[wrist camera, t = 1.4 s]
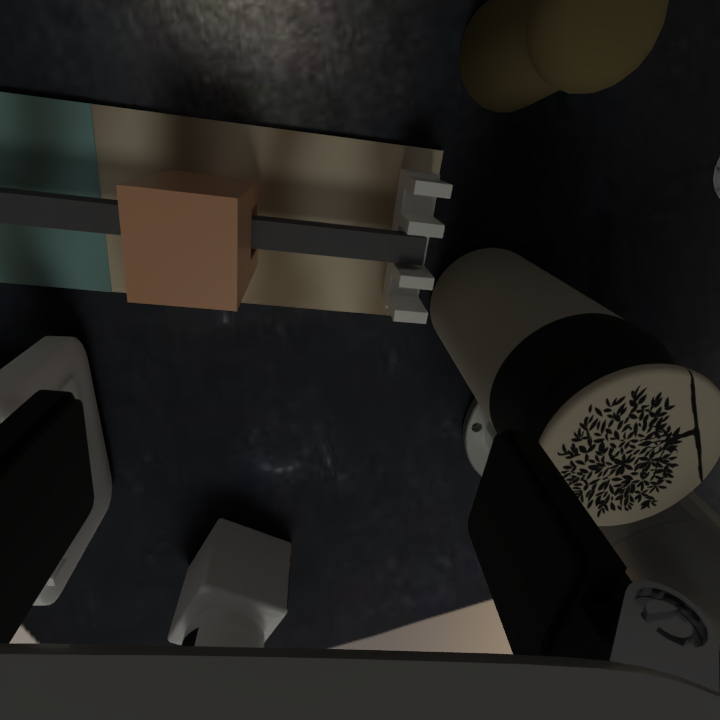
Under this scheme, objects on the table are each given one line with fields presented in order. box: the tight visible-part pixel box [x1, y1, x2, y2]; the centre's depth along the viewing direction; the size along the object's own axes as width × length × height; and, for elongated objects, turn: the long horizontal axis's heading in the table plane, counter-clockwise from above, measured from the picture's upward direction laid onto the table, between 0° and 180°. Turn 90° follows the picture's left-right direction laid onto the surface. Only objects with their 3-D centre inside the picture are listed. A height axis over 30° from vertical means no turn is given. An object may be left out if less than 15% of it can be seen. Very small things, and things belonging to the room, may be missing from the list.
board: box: [0, 92, 443, 315], centre depth 29 cm, size 33×11×1 cm, turn 83°
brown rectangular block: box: [116, 170, 260, 311], centre depth 25 cm, size 5×5×9 cm
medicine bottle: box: [168, 518, 291, 648], centre depth 37 cm, size 7×7×12 cm
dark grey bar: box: [0, 187, 427, 265], centre depth 26 cm, size 30×2×2 cm, turn 83°
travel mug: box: [430, 248, 720, 526], centre depth 26 cm, size 8×8×18 cm
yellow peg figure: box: [459, 0, 669, 113], centre depth 22 cm, size 6×6×11 cm
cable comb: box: [382, 168, 453, 324], centre depth 29 cm, size 2×8×6 cm, turn 173°
